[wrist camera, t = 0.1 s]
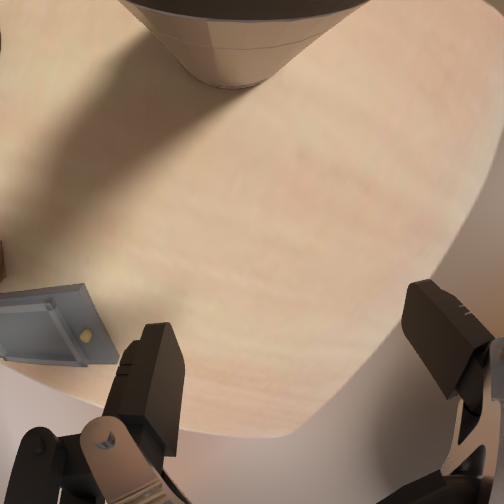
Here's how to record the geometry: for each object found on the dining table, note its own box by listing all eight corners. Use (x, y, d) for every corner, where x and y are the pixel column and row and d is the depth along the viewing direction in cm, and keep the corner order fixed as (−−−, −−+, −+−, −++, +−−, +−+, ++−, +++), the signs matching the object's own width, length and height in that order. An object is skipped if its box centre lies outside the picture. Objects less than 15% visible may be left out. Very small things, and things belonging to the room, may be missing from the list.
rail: (-33, 297, 27) (-41, 307, 24) (84, 283, 27) (74, 297, 25) (-1, 351, 32) (-7, 361, 29) (119, 355, 32) (114, 371, 30)
